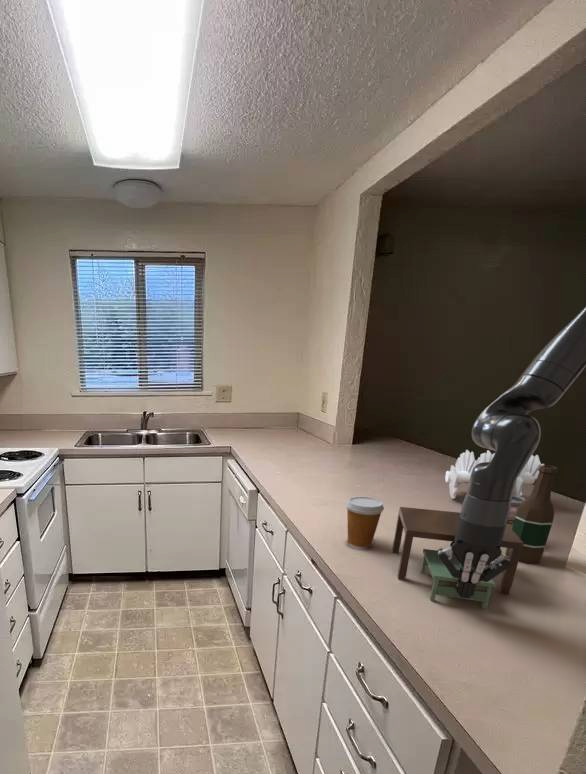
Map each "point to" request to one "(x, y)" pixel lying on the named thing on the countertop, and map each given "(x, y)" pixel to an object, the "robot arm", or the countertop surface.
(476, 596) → the stool
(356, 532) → the disposable coffee cup
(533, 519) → the beer bottle
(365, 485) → the countertop surface
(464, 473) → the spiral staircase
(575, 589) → the countertop surface
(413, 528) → the side table
